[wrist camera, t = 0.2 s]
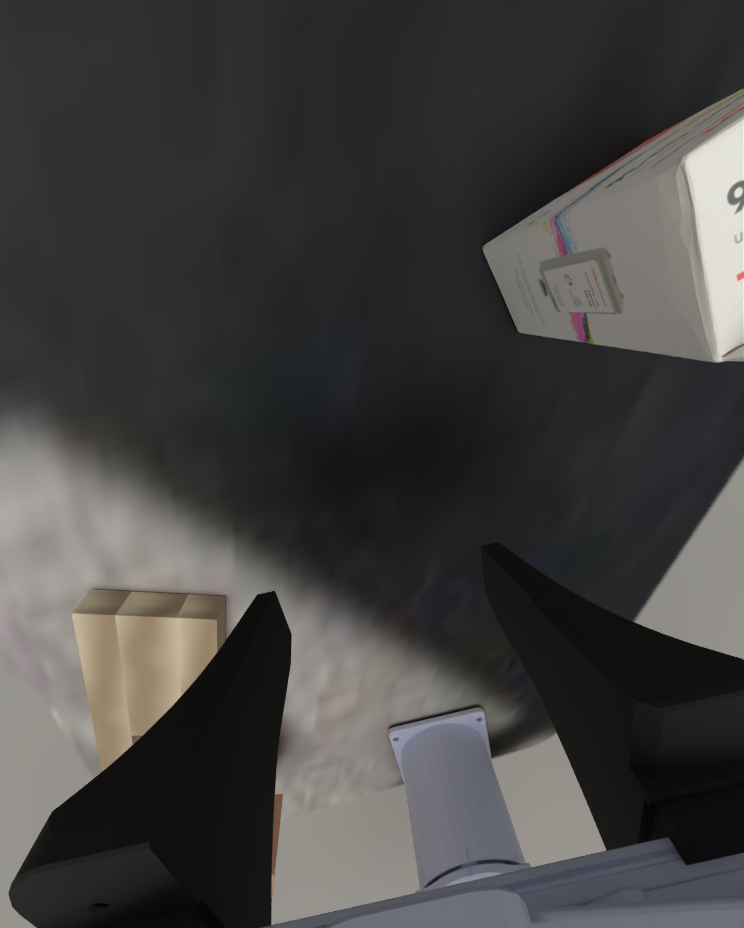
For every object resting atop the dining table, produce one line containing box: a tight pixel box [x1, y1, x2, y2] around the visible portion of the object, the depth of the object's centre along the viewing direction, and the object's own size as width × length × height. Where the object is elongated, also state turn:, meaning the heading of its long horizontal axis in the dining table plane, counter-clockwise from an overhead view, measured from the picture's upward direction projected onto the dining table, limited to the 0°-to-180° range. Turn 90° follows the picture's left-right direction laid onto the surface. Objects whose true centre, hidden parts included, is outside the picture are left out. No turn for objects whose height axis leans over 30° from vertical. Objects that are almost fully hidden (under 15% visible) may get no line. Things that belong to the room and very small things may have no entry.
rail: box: [72, 589, 226, 771], centre depth 27 cm, size 8×22×2 cm, turn 172°
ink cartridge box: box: [483, 89, 744, 362], centre depth 12 cm, size 9×5×15 cm, turn 121°
